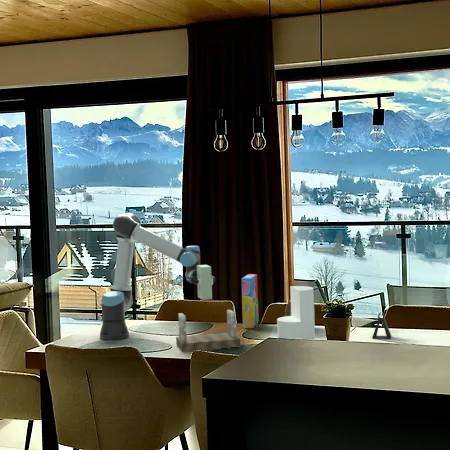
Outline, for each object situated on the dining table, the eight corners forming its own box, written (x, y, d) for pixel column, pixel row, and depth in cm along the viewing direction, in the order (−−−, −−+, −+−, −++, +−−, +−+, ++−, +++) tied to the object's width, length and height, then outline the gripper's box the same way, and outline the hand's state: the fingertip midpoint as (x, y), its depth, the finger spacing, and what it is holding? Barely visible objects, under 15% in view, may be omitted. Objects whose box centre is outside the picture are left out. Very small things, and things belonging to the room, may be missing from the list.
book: (202, 299, 368) (201, 267, 367) (197, 296, 379) (196, 265, 378) (212, 299, 369) (211, 266, 368) (207, 296, 380) (206, 264, 379)
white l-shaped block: (309, 343, 360) (307, 285, 358) (319, 350, 342) (317, 289, 341) (274, 345, 357) (272, 287, 356) (282, 353, 340) (280, 291, 339)
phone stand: (372, 338, 365) (371, 314, 365) (372, 336, 371) (372, 312, 371) (390, 339, 363) (390, 314, 362) (391, 336, 369) (390, 312, 368)
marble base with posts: (182, 352, 351) (180, 318, 350) (176, 344, 368) (175, 312, 367) (240, 347, 356) (239, 313, 356) (232, 340, 374) (231, 308, 373)
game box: (252, 328, 403) (251, 278, 402) (242, 328, 404) (241, 278, 403) (258, 321, 424) (257, 273, 422) (249, 321, 425) (247, 273, 424)
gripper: (214, 283, 393) (224, 288, 371) (180, 285, 389) (188, 290, 366) (213, 269, 393) (224, 273, 370) (179, 271, 389) (188, 275, 366)
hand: (206, 282), depth 368 cm, fingers closed on book, 5 cm apart
